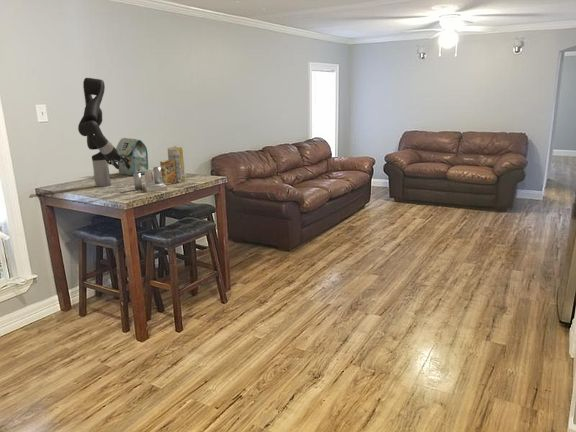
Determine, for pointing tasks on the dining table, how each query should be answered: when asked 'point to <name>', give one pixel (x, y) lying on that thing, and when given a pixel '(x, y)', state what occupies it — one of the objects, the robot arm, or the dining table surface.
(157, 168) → the spacer
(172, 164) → the candy box
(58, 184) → the dining table surface
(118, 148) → the lunch bag
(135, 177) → the spacer
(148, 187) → the grey l-shaped block
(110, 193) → the dining table surface
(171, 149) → the juice carton
